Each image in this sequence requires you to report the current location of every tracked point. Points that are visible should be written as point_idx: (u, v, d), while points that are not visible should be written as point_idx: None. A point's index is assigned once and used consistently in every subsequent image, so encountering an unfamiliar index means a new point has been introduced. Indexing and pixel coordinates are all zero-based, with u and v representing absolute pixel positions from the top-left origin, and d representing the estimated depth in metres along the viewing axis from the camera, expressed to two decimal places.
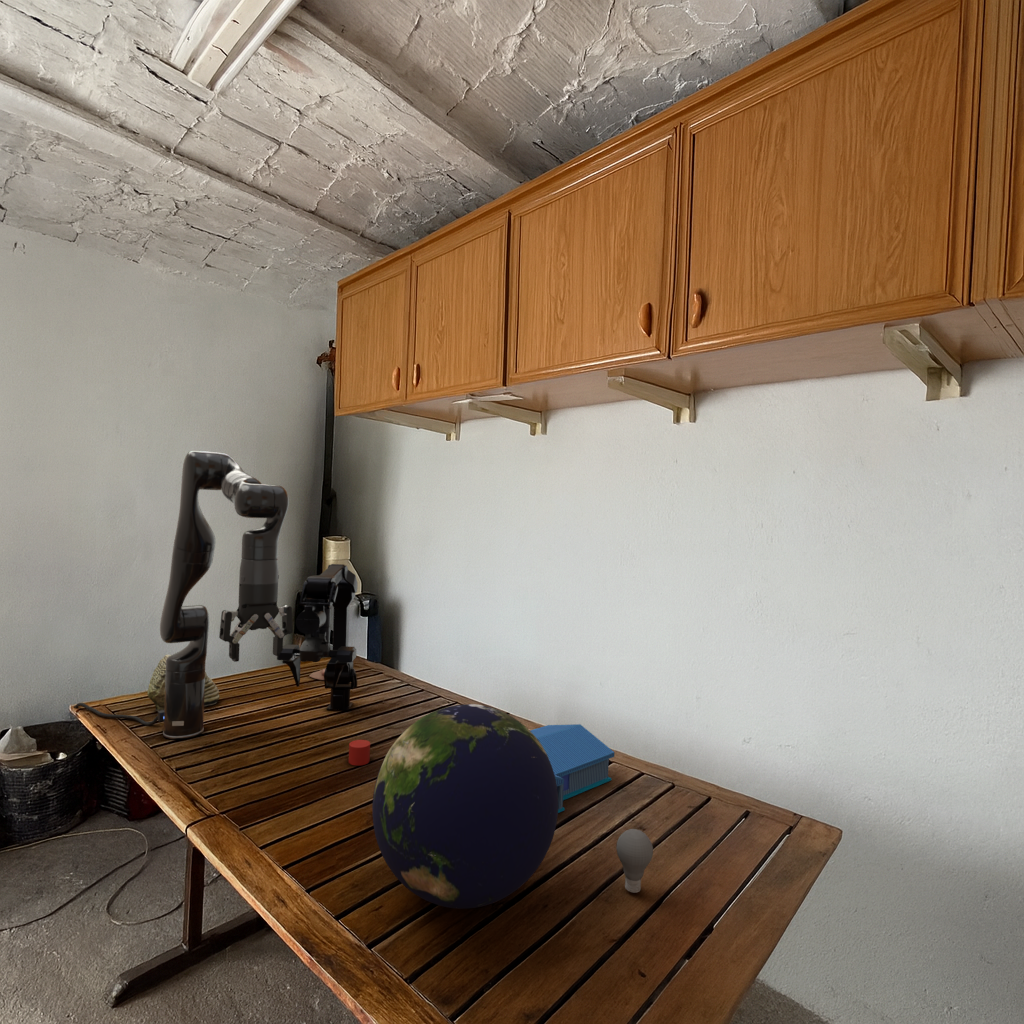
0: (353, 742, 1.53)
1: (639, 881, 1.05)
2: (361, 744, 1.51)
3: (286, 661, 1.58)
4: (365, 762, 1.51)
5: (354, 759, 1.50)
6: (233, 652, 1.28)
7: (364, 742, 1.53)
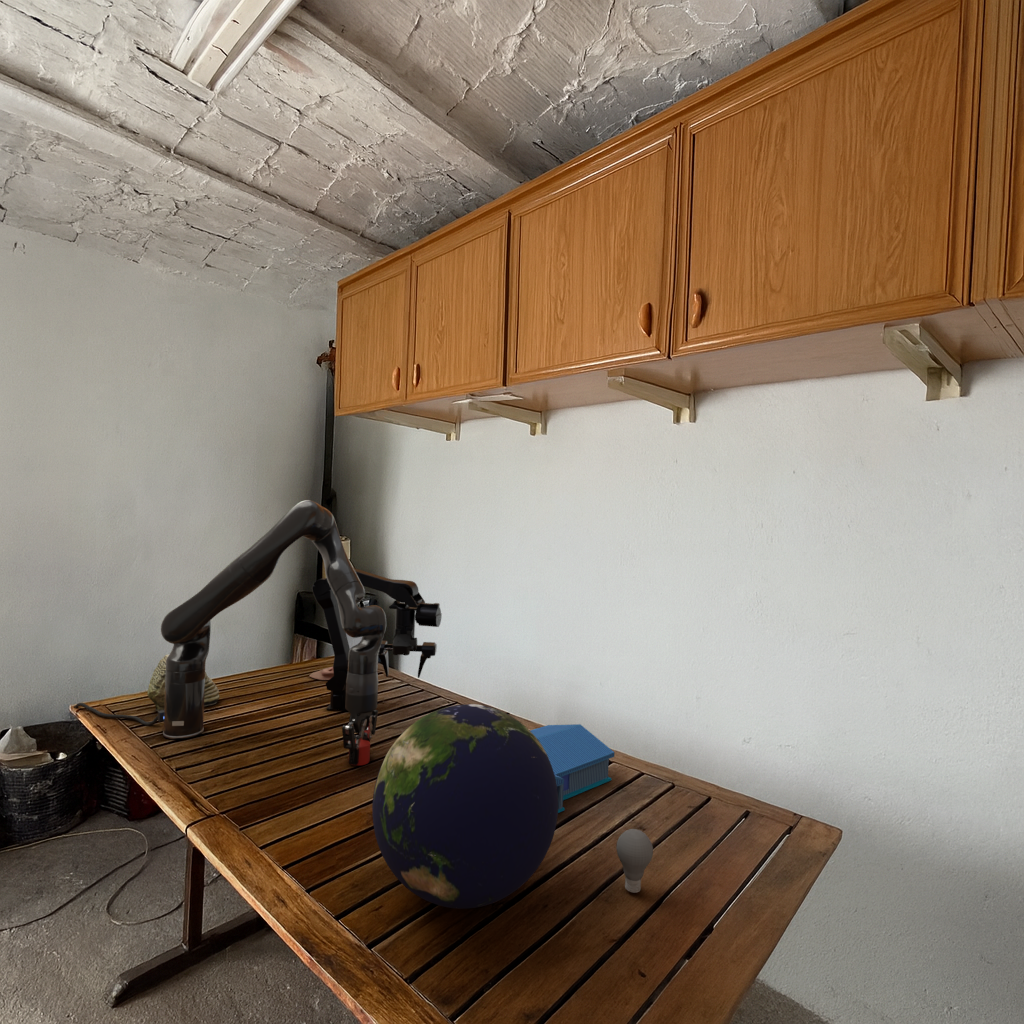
0: None
1: (639, 881, 1.05)
2: (361, 745, 1.51)
3: (378, 654, 1.84)
4: (365, 762, 1.51)
5: None
6: None
7: (364, 742, 1.53)
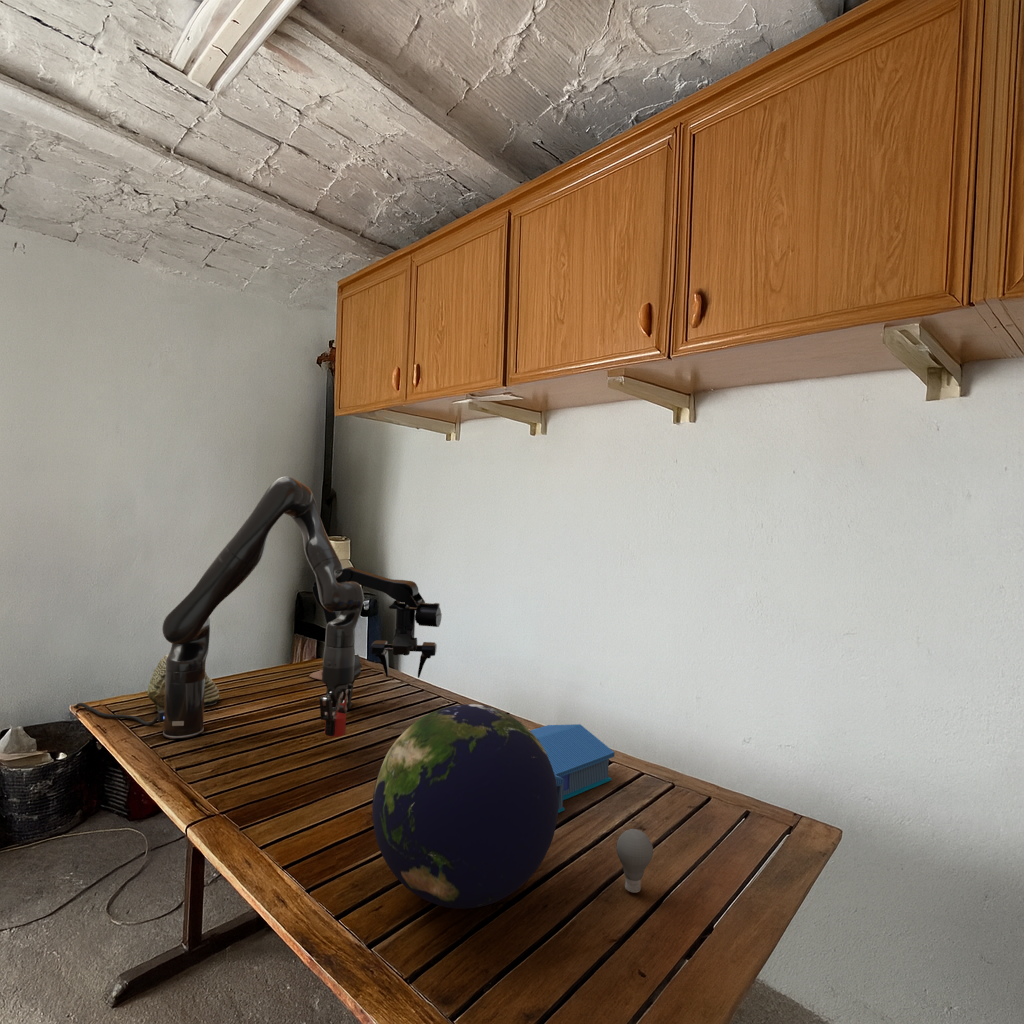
0: None
1: (639, 881, 1.05)
2: (338, 716, 1.56)
3: (378, 654, 1.84)
4: (341, 733, 1.55)
5: None
6: None
7: (340, 715, 1.57)
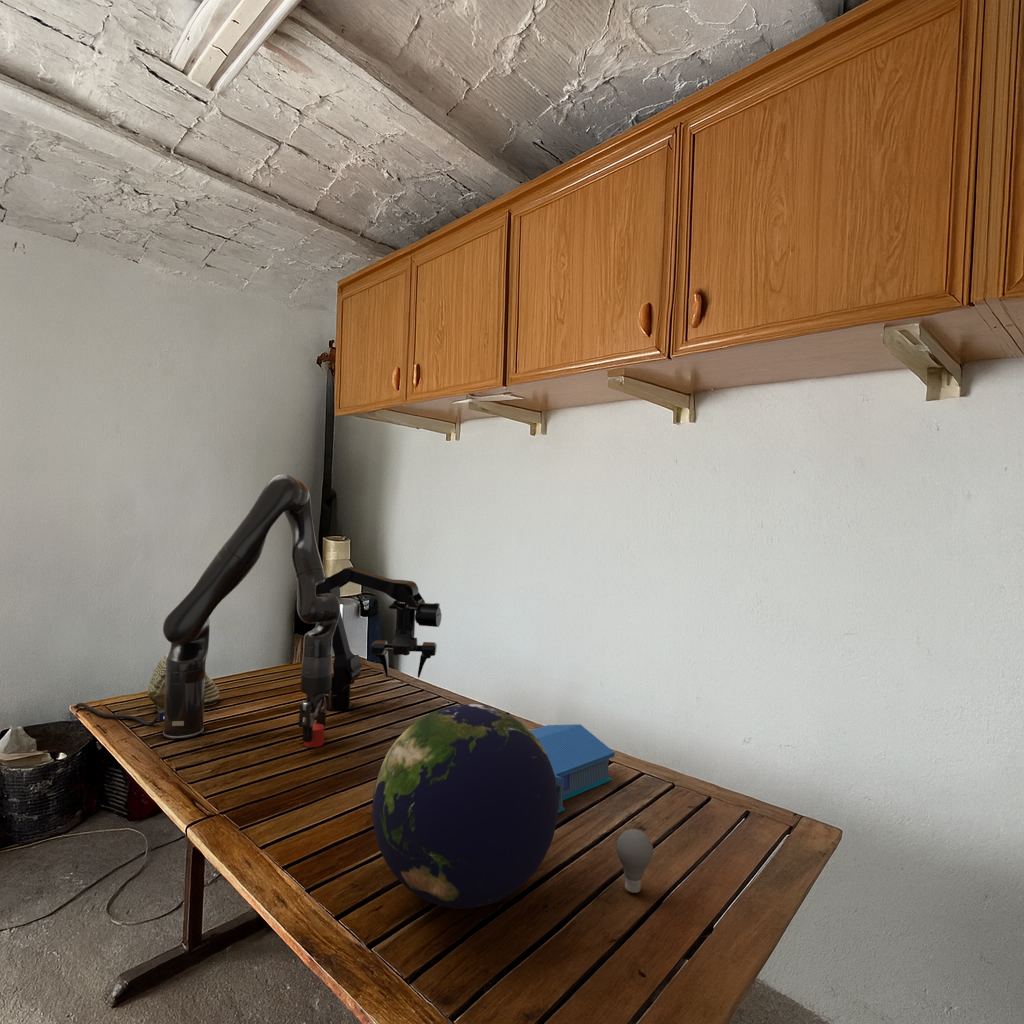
0: None
1: (639, 881, 1.05)
2: (316, 728, 1.61)
3: (378, 654, 1.84)
4: (320, 744, 1.61)
5: None
6: None
7: (318, 726, 1.62)
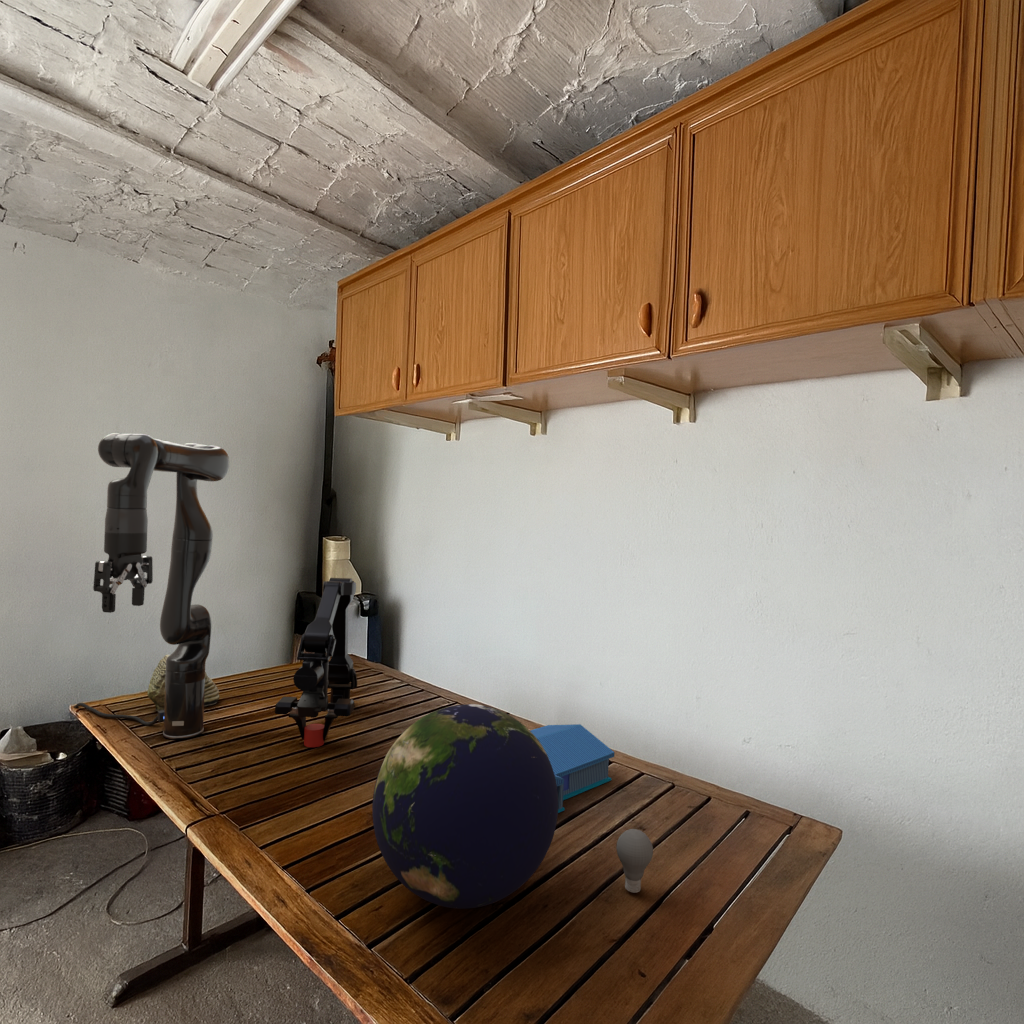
0: (308, 726, 1.62)
1: (639, 881, 1.05)
2: (316, 728, 1.61)
3: (292, 715, 1.59)
4: (320, 744, 1.61)
5: (310, 741, 1.59)
6: None
7: (318, 726, 1.62)
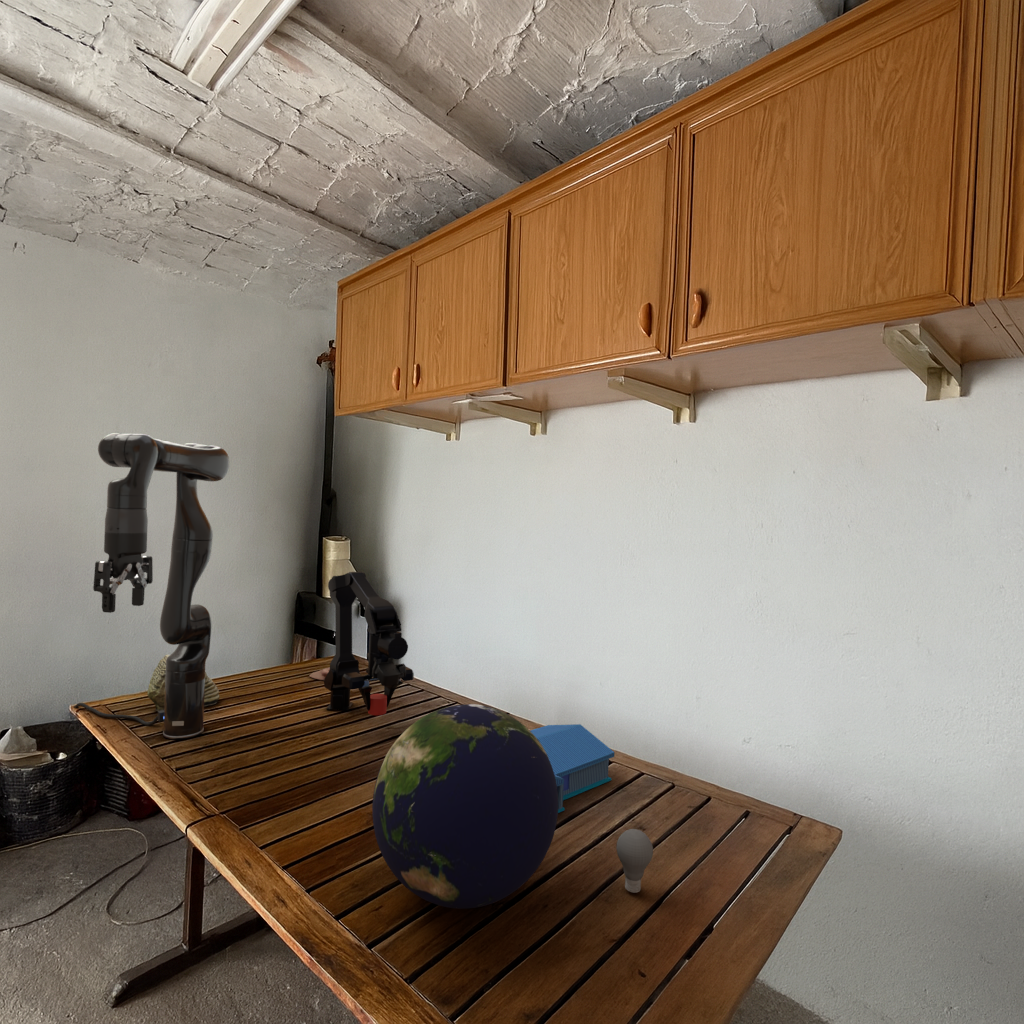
0: (371, 697, 1.70)
1: (639, 881, 1.05)
2: (381, 696, 1.71)
3: (365, 688, 1.66)
4: (386, 710, 1.71)
5: (380, 709, 1.69)
6: None
7: (379, 695, 1.72)
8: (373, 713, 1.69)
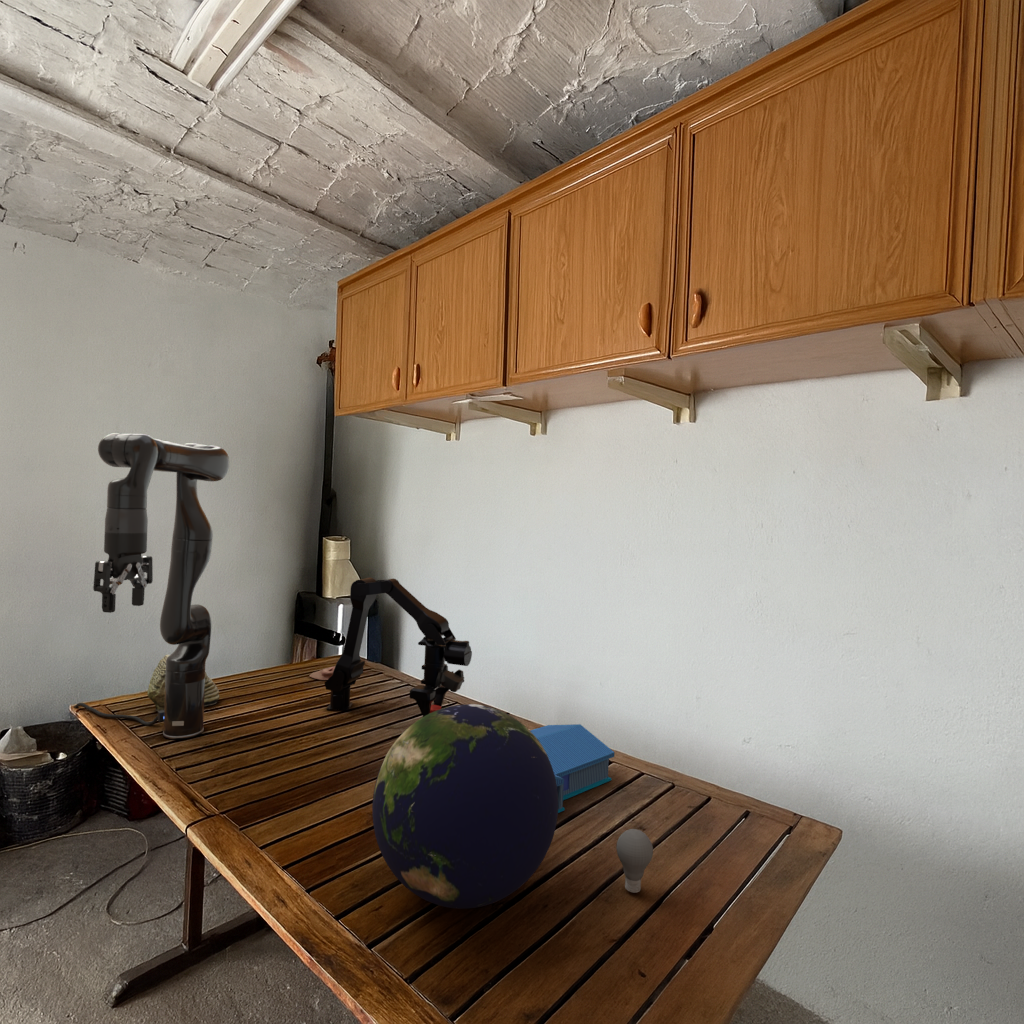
0: None
1: (639, 881, 1.05)
2: (436, 706, 1.81)
3: (432, 699, 1.74)
4: None
5: None
6: None
7: (432, 706, 1.82)
8: None
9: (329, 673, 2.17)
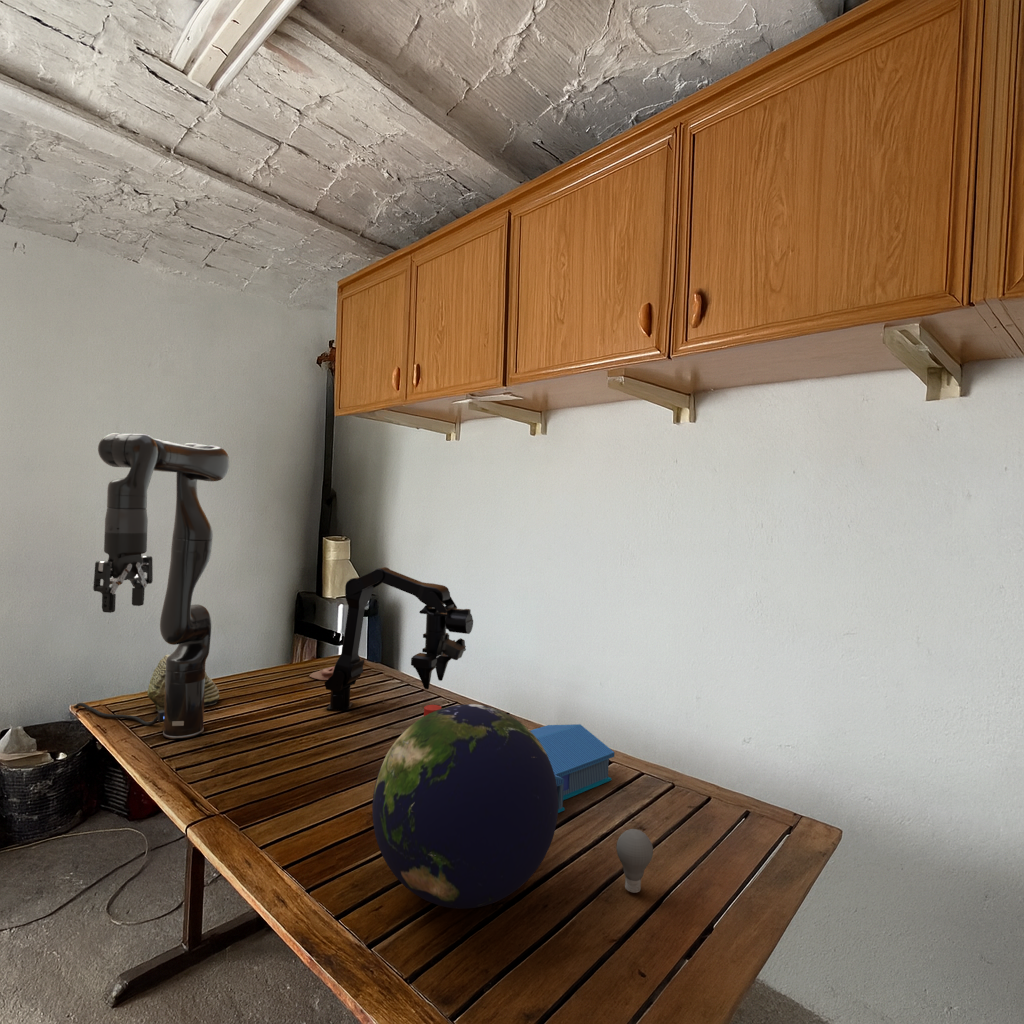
0: (429, 709, 1.79)
1: (639, 881, 1.05)
2: (436, 706, 1.81)
3: (432, 667, 1.73)
4: None
5: None
6: None
7: (432, 706, 1.82)
8: None
9: (329, 673, 2.17)
